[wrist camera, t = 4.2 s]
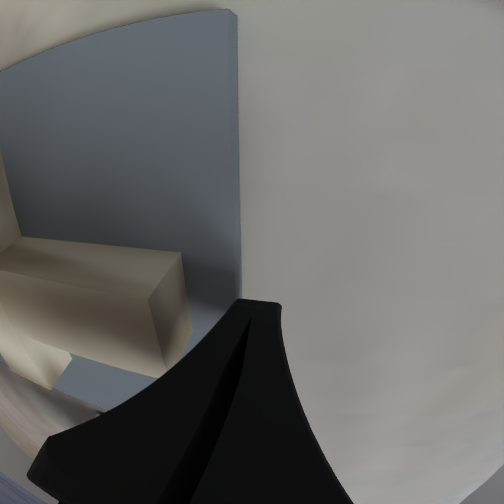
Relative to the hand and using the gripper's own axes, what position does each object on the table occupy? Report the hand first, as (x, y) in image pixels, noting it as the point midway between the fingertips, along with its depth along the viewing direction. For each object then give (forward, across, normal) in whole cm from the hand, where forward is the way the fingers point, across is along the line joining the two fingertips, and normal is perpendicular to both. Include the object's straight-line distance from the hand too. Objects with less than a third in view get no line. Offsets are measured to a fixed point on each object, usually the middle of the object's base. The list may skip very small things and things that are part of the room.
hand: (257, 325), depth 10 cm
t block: (+1, +8, 0) cm, 8 cm away
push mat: (+2, +15, +1) cm, 16 cm away
